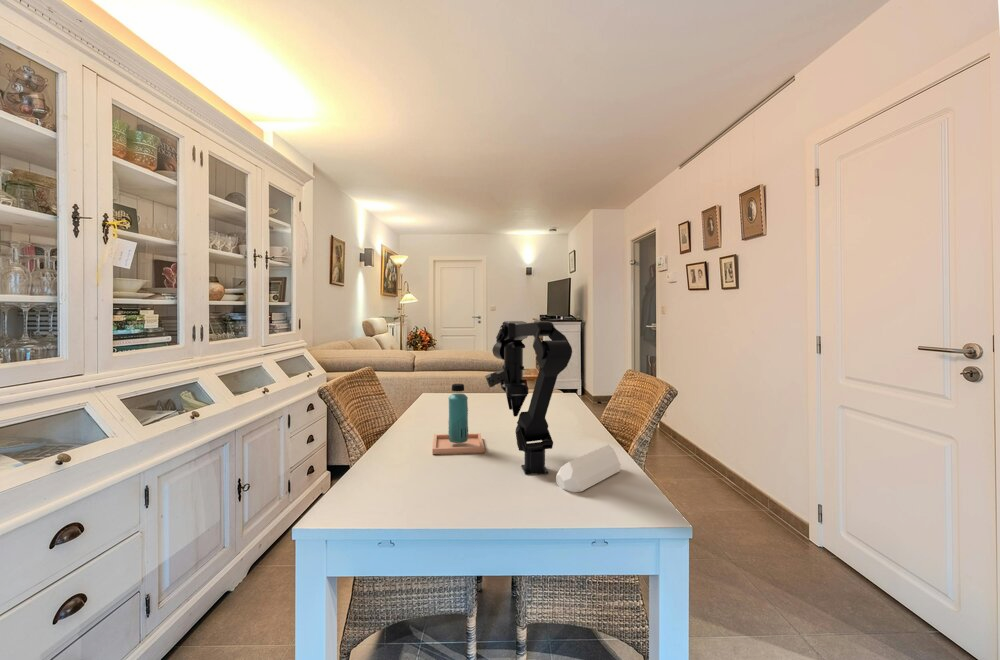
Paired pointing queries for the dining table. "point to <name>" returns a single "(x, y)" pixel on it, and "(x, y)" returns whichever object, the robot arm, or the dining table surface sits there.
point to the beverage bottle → (458, 415)
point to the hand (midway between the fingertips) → (513, 412)
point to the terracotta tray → (457, 445)
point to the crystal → (588, 469)
